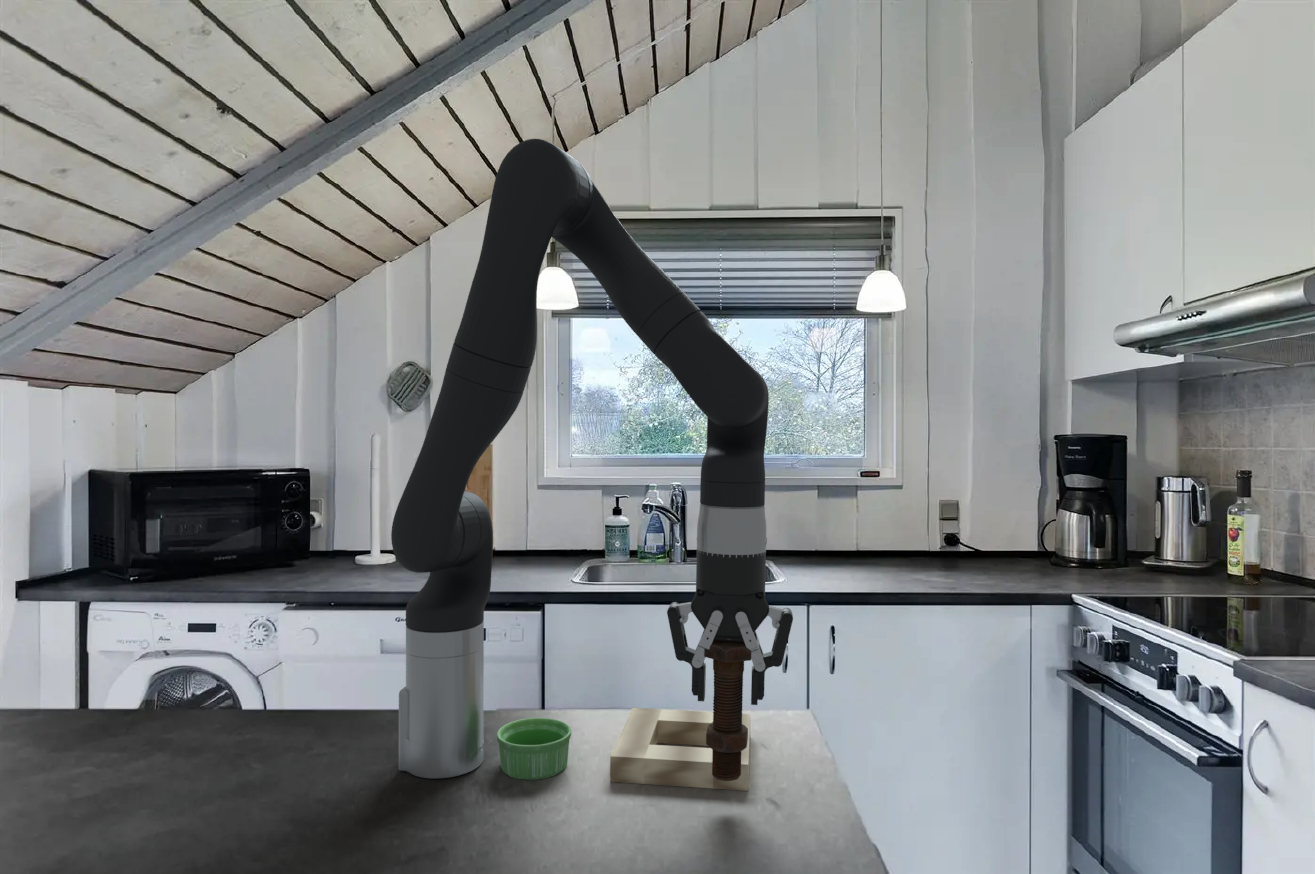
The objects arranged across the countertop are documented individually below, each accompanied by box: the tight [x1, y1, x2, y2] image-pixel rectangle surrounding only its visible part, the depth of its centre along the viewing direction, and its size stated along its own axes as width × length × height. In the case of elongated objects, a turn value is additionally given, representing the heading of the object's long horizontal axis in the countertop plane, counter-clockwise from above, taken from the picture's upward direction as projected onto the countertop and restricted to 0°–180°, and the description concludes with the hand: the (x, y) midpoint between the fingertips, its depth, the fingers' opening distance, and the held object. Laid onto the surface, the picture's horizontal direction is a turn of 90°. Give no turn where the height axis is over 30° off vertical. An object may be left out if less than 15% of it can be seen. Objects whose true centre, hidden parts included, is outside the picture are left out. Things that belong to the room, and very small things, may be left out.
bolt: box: [704, 639, 752, 781], centre depth 87 cm, size 6×5×15 cm
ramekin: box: [496, 717, 572, 781], centre depth 97 cm, size 9×9×4 cm
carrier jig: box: [609, 707, 751, 792], centre depth 99 cm, size 16×16×3 cm
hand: (728, 700), depth 87 cm, fingers closed on bolt, 5 cm apart
